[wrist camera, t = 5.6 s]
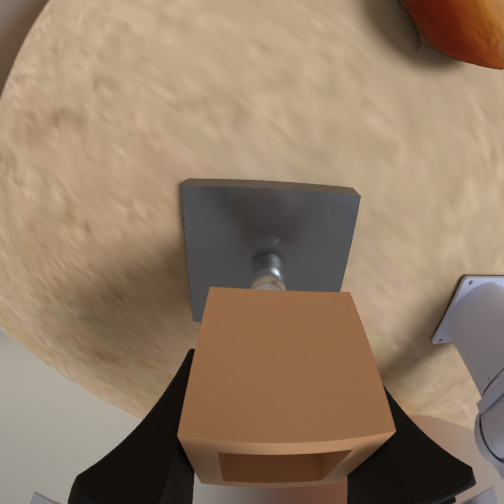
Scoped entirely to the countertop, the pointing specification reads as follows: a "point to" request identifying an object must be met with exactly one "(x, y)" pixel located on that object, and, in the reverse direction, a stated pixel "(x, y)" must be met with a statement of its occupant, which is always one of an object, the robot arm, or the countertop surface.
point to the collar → (282, 390)
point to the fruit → (462, 29)
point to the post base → (266, 236)
